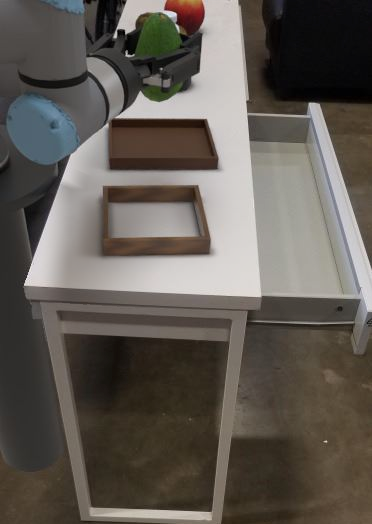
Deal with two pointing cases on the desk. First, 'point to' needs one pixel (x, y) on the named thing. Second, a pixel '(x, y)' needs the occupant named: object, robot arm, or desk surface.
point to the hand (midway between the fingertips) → (173, 37)
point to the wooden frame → (155, 243)
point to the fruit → (187, 13)
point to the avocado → (158, 48)
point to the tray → (161, 144)
